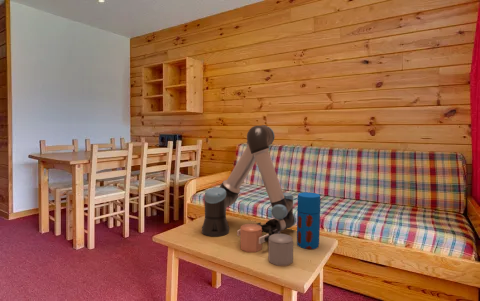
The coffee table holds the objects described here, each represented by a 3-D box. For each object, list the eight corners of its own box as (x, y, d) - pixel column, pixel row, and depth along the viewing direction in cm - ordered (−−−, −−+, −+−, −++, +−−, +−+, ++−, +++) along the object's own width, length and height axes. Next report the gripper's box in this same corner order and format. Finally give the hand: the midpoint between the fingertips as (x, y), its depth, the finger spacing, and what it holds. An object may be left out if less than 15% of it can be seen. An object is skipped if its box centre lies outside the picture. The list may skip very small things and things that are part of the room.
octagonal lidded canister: (236, 247, 140) (236, 227, 139) (250, 241, 148) (250, 222, 147) (251, 253, 133) (252, 232, 133) (265, 247, 141) (266, 227, 140)
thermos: (320, 250, 138) (321, 198, 135) (296, 248, 139) (298, 197, 137) (317, 241, 148) (319, 192, 146) (296, 239, 150) (297, 191, 148)
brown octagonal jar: (264, 260, 127) (264, 237, 126) (277, 253, 134) (278, 231, 134) (283, 268, 120) (283, 244, 119) (296, 260, 127) (297, 237, 127)
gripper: (295, 239, 145) (269, 252, 130) (256, 227, 162) (229, 237, 147) (295, 224, 145) (269, 236, 129) (257, 213, 162) (229, 223, 146)
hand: (248, 236), depth 138 cm, fingers open, 13 cm apart
